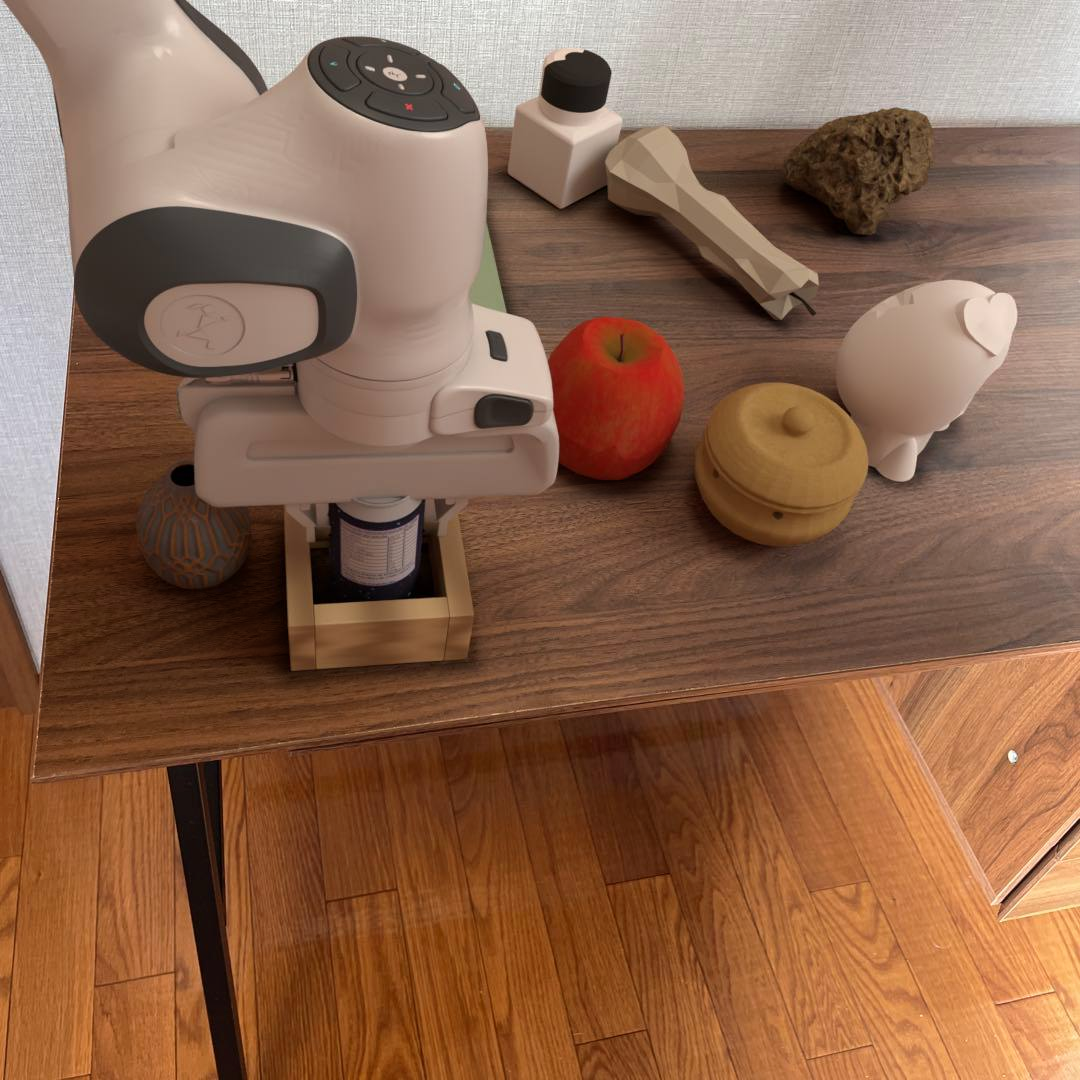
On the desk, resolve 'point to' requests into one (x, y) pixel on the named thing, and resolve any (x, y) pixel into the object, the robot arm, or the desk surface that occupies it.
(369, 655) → the holder
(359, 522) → the beverage can
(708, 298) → the desk surface
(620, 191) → the faceted club
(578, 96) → the medicine bottle
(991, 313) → the figurine
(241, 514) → the vase
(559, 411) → the apple
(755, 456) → the pot
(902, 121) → the brown porous lump
